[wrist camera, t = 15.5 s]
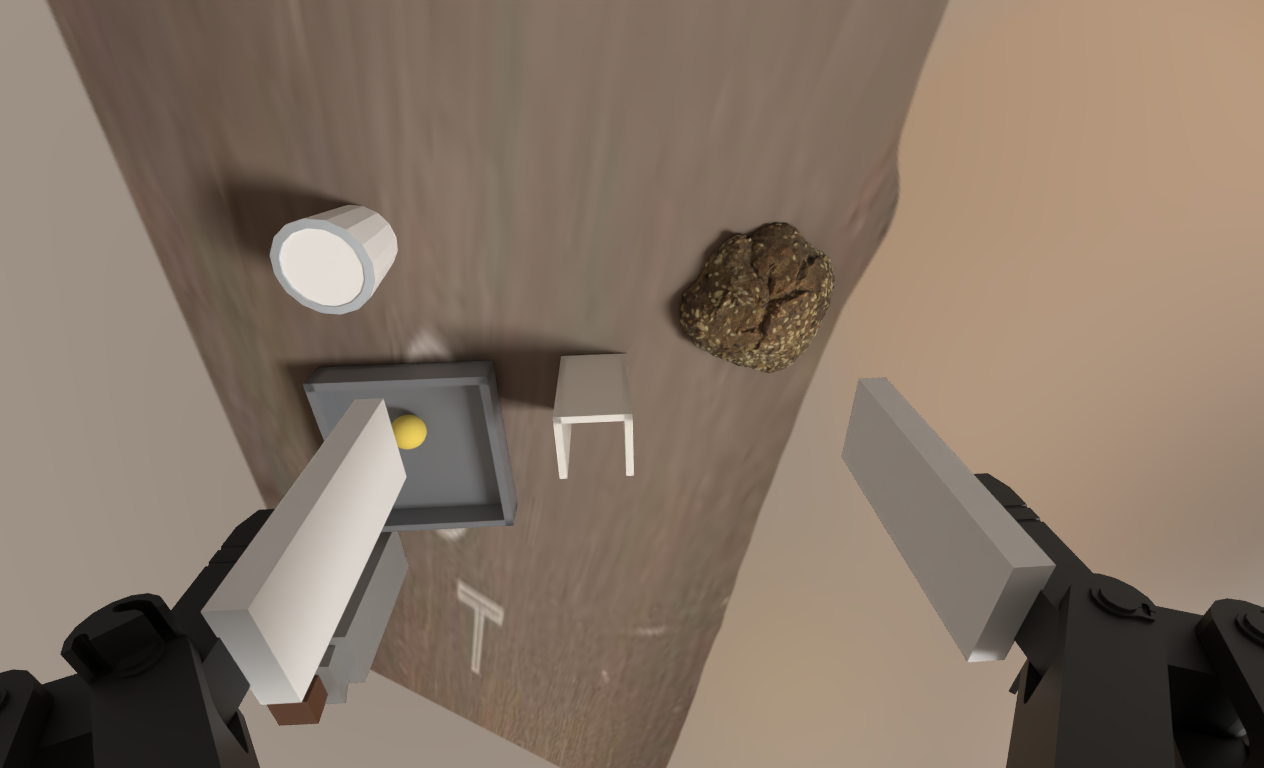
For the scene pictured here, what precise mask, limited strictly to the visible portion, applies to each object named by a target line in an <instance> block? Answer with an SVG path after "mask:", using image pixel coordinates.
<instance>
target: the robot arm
mask: <svg viewBox="0 0 1264 768" xmlns="http://www.w3.org/2000/svg"><path fill="white" fill-rule="evenodd" d="M842 458H843V460H844V462H845V463H846V465H847V467H848V468H849V470H850V472H851V473H852V475H853V476H854V478H855V480H856V481H857V483H858V485H859V486H860V488H861V490H862V491H863V493H864V494H865V496H866V498H867V499H868V501H869V502H870V504H871V506H872V507H873V509H874V510H875V512H876V514H877V516H878V517H879V519H880V521H881V522H882V524H883V525H884V527H885V529H886V530H887V532H888V534H889V535H890V537H891V538H892V540H893V542H894V543H895V545H896V547H897V548H898V550H899V551H900V553H901V555H902V556H903V558H904V560H905V561H906V563H907V565H908V566H909V568H910V570H911V571H912V573H913V574H914V576H915V578H916V579H917V581H918V583H919V584H920V586H921V587H922V589H923V591H924V592H925V594H926V596H927V597H928V599H929V600H930V602H931V604H932V605H933V607H934V609H935V610H936V612H937V614H938V615H939V617H940V618H941V620H942V622H943V623H944V625H945V627H946V628H947V630H948V632H949V633H950V635H951V636H952V638H953V640H954V641H955V643H956V645H957V646H958V648H959V649H960V651H961V652H962V654H963V656H964V658H965V659H966V661H967V662H977V661H994V660H1004V659H1005V658H1006V656H1007V654H1008V652H1009V651H1010V649H1011V647H1012V645H1013V643H1014V641H1016V643H1017V644H1018V645H1019V647H1020V648H1021V650H1022V651H1023V652H1024V654H1025V655H1026V656H1027V660H1026V662H1025V663H1024V665H1023V667H1022V669H1021V670H1020V672H1019V674H1018V675H1017V677H1016V679H1015V681H1014V682H1013V684H1012V686H1011V688H1010V690H1009V692H1011V693H1013V694H1016V692H1017V691H1018V695H1017V702H1016V708H1015V714H1014V721H1013V727H1012V733H1011V740H1010V746H1009V752H1008V759H1007V765H1006V768H1264V607H1260V606H1258V605H1254V604H1252V603H1249V602H1246V601H1241V600H1234V599H1228V598H1227V599H1222V600H1217V601H1215V602H1214V603H1213V604H1212V606H1211V607H1210V608H1209V609H1208V611H1207V612H1206V613H1205V614H1204V616H1203V615H1198V614H1193V613H1188V612H1183V611H1178V610H1173V609H1168V608H1163V607H1158V606H1155V605H1154V604H1153V602H1152V601H1151V600H1150V599H1149V598H1148V597H1147V596H1145V595H1144V594H1142V593H1141V592H1140V591H1138V590H1137V589H1136V588H1134V587H1133V586H1131V585H1128V584H1126V583H1124V582H1122V581H1120V580H1118V579H1116V578H1113V577H1109V576H1106V575H1102V574H1094V573H1092V572H1091V571H1090V569H1088V568H1087V566H1086V565H1085V564H1084V563H1083V562H1082V561H1081V560H1080V559H1079V558H1078V557H1077V556H1076V555H1075V554H1074V553H1073V552H1072V551H1071V550H1070V549H1069V548H1068V547H1067V546H1066V545H1065V544H1064V543H1063V542H1062V541H1061V540H1060V539H1059V537H1057V535H1056V534H1054V532H1053V531H1052V530H1051V529H1050V528H1049V527H1048V526H1047V525H1046V524H1045V523H1044V522H1041V521H1040V518H1039V517H1038V516H1037V515H1036V514H1035V513H1034V512H1033V510H1032V509H1031V508H1027V505H1026V503H1025V502H1024V501H1023V500H1022V499H1021V498H1020V497H1019V496H1018V495H1017V494H1016V493H1015V492H1014V491H1013V490H1012V489H1011V488H1010V487H1009V486H1007V485H1005V484H1004V483H1002V482H1001V481H999V480H997V479H996V478H994V477H993V476H991V475H990V474H988V473H986V474H985V473H984V474H973V473H972V472H971V471H970V470H969V469H968V468H967V467H966V465H965V464H964V463H963V462H962V461H961V460H960V459H959V458H958V457H957V456H956V454H955V453H954V452H953V451H952V450H951V449H950V448H949V447H948V446H947V444H946V443H945V442H944V441H943V440H942V439H941V438H940V437H939V436H938V435H937V433H936V432H935V431H934V430H933V429H932V428H931V427H930V426H929V425H928V424H927V423H926V421H925V420H924V419H923V418H922V417H921V416H920V415H919V414H918V413H917V411H916V410H915V409H914V408H913V407H912V406H911V405H910V404H909V403H908V401H907V400H906V399H905V398H904V397H903V396H902V395H901V394H900V393H899V392H898V390H896V388H895V387H894V386H893V385H892V384H891V383H890V382H889V381H888V379H887V378H863V379H859V380H858V385H857V390H856V393H855V398H854V402H853V407H852V411H851V416H850V420H849V425H848V430H847V434H846V438H845V442H844V447H843V451H842ZM405 479H406V473H405V470H404V466H403V463H402V460H401V456H400V453H399V450H398V446H397V443H396V439H395V436H394V433H393V429H392V426H391V422H390V419H389V416H388V412H387V409H386V406H385V402H384V399H383V398H380V399H356V400H354V401H353V403H352V404H351V405H350V407H349V408H348V410H347V411H346V412H345V414H344V415H343V416H342V418H341V419H340V421H339V422H338V423H337V425H336V426H335V427H334V429H333V430H332V432H331V433H330V434H329V436H328V437H327V438H326V440H325V441H324V443H323V444H322V445H321V447H320V448H319V449H318V451H317V452H316V454H315V455H314V456H313V458H312V459H311V460H310V462H309V463H308V465H307V466H306V467H305V469H304V470H303V471H302V473H301V474H300V476H299V477H298V478H297V480H296V481H295V482H294V484H293V485H292V487H291V488H290V489H289V491H288V492H287V493H286V495H285V496H284V498H283V499H282V500H281V502H280V503H279V505H278V506H277V507H276V509H266V510H258V511H257V512H256V513H254V514H253V515H251V516H250V517H249V518H247V520H245V521H244V522H242V523H241V524H240V525H238V526H237V527H236V528H235V529H234V531H233V532H232V533H231V535H230V536H229V537H228V538H227V540H226V541H225V542H224V543H223V545H222V546H221V550H218V551H217V552H216V554H215V555H214V556H213V557H212V559H211V560H210V561H209V565H208V566H206V567H205V568H204V569H203V570H202V572H201V573H200V574H199V575H198V577H197V578H196V579H195V581H194V582H193V583H192V584H191V586H190V587H189V588H188V590H187V591H186V592H185V593H184V595H183V596H182V597H181V598H180V600H179V601H178V602H177V604H176V605H175V606H174V607H173V609H172V610H170V609H169V607H168V606H167V605H166V603H165V602H164V601H163V599H162V598H161V597H160V596H158V595H153V594H149V593H146V594H139V595H131V596H129V597H126V598H123V599H121V600H117V601H115V602H112V603H110V604H109V605H107V606H105V607H103V608H101V609H100V610H98V611H96V612H94V613H93V614H91V615H90V616H89V617H88V618H86V619H85V620H84V621H83V622H81V623H80V624H79V625H78V626H76V627H75V629H74V630H73V631H72V632H71V634H70V635H69V636H68V638H67V639H66V640H65V641H64V644H63V647H62V651H61V655H62V657H63V658H64V659H65V660H66V661H67V662H68V663H69V664H70V665H71V666H72V668H74V670H75V671H76V672H77V673H78V674H74V675H71V676H68V677H65V678H62V679H59V680H55V681H52V682H48V683H45V684H41V683H40V682H39V681H38V680H36V678H35V677H34V676H33V675H32V674H30V673H29V672H28V671H26V670H10V671H6V672H2V673H0V768H260V766H259V763H258V760H257V757H256V753H255V750H254V747H253V744H252V741H251V738H250V734H249V731H248V728H247V725H246V721H245V718H244V716H243V714H242V713H241V712H240V710H239V709H238V707H239V705H240V703H241V702H242V700H243V698H244V696H245V695H246V693H247V691H248V689H249V687H250V689H251V690H252V692H253V693H254V695H255V696H256V698H257V700H258V701H259V703H260V704H261V705H266V704H283V703H299V702H302V700H303V698H304V696H305V694H306V692H307V690H308V687H309V685H310V683H311V681H312V679H313V677H314V675H315V672H316V670H317V668H318V666H319V664H320V662H321V660H322V657H323V655H324V653H325V651H326V649H327V647H328V644H329V642H330V640H331V638H332V636H333V634H334V632H335V629H336V627H337V625H338V623H339V621H340V619H341V617H342V614H343V612H344V610H345V608H346V606H347V604H348V602H349V599H350V597H351V595H352V593H353V591H354V589H355V587H356V584H357V582H358V580H359V578H360V576H361V574H362V572H363V569H364V567H365V565H366V563H367V561H368V559H369V556H370V554H371V552H372V550H373V548H374V546H375V544H376V541H377V539H378V537H379V535H380V533H381V531H382V529H383V526H384V524H385V522H386V520H387V518H388V516H389V514H390V511H391V509H392V507H393V505H394V503H395V501H396V499H397V496H398V494H399V492H400V490H401V488H402V486H403V484H404V481H405Z"/></svg>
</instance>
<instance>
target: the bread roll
mask: <svg viewBox="0 0 1264 768" xmlns="http://www.w3.org/2000/svg"><path fill="white" fill-rule="evenodd" d="M833 271H834V268H833V266H832V263H831V260H830V258H828V257H827V256H826V255H825V254H824V253H823V252H822V251H818V250H817V249H815V248H813V246H812V245H811V244H810V243H808V242H806V241H805V239H804V237H803V235H802V233H801V232H800V231H798V230H797V229H796V228H795V227H794V226H792V225H791V224H782V223H778V224H771V225H768V226H765V227H763V228H761V229H759V230H757V231H756V232H754V233H753V235H752V236H751V237H749V238H748V237H746V235H736V236H734V237H732V238H730V239H728V240H727V241H726V242H724V243H723V244H722V246H721V247H720V248H719V249H718V251H717V252H715V253H714V254H713V255H711V256H710V257H709V260H708V261H707V262H706V263H705V268H704V270H703V272H702V274H701V276H700V277H699V278H698V279H697V281H696V282H695V283H694V284H693V285H692V286H691V287H689V288H688V289H687V290H686V291H685V292H684V293H683V294H682V296H683V303H682V305H681V306H680V307H679V314H680V316H681V320H680V322H681V323H682V325H683V327H684V329H685V333H686V334H687V335H688V334H689V335H690V336H691V337H692V340H693V341H694V344H695V345H696V346H697V347H699V346H701V348H702V349H703V350H707V351H708V353H710V354H712V355H713V356H715V357H719V358H720V359H723V360H727V361H728V362H732V363H733V364H736V365H738V366H741V367H742V366H744V367H750V368H753V369H757V370H761V372H764V373H766V372H768V373H771V372H775V371H779V370H782V369H784V368H787V367H788V366H790V365H792V364H793V362H794V361H796V360H797V358H799V357H800V355H802V353H803V352H805V351H806V349H807V348H808V346H809V345H810V342H811V340H812V338H814V337H815V335H816V333H817V330H818V328H820V325H821V323H822V319H823V317H824V315H825V312H826V310H827V309H828V306H829V304H830V300H831V297H832V289H833V288H834V285H833V284H834V281H835V276H834V275H833V274H832V272H833Z"/></svg>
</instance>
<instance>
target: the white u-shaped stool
mask: <svg viewBox="0 0 1264 768" xmlns="http://www.w3.org/2000/svg"><path fill="white" fill-rule="evenodd" d="M610 421H623V430H624V445H625V461H626V476H632V475H634V462H633V419H632V404H631V394H630V383H629V372H628V361H627V353H623V354H598V355H574V356H561V360H560V368H559V375H558V383H557V390H556V398H555V405H554V413H553V423H554V432H555V441H556V450H557V459H558V468H559V476H560V479H567V475H568V462H569V450H570V437H571V424H572V423H588V422H610Z"/></svg>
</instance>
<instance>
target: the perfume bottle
mask: <svg viewBox="0 0 1264 768" xmlns="http://www.w3.org/2000/svg"><path fill="white" fill-rule="evenodd" d="M408 568H409V567H408V563H407V560H406V557H405V553H404V550H403V547H402V544H401V540H400V537H399V534H398V531H395V532H381V533H380V535H379V537H378V539H377V541H376V544H375V546H374V548H373V550H372V552H371V554H370V556H369V559H368V561H367V563H366V565H365V567H364V569H363V572H362V574H361V576H360V578H359V580H358V582H357V584H356V587H355V589H354V591H353V593H352V595H351V597H350V599H349V602H348V604H347V606H346V608H345V610H344V612H343V614H342V617H341V619H340V621H339V623H338V625H337V627H336V629H335V632H334V634H333V636H332V638H331V640H330V642H329V644H328V647H327V649H326V651H325V653H324V655H323V657H322V660H321V662H320V664H319V666H318V668H317V670H316V672H315V675H314V677H313V679H312V681H311V683H310V685H309V687H308V690H307V692H306V694H305V696H304V698H303V700H302V702H299V703H283V704H266V705H267V706H268V708H269V710H270V711H271V713H272V714H273V716H274V718H275V719H276V721H277V723H278V724H279V726H280V725H299V724H317V723H319V721H320V717H321V714H322V711H323V709H324V706H325V704H336V703H346V698H347V690H348V683H359V682H360V683H362V682H365V680H366V678H367V675H368V673H369V670H370V668H371V665H372V662H373V660H374V657H375V654H376V652H377V649H378V647H379V644H380V641H381V639H382V636H383V633H384V631H385V628H386V625H387V623H388V620H389V618H390V615H391V612H392V610H393V607H394V604H395V602H396V599H397V597H398V594H399V591H400V589H401V586H402V583H403V581H404V578H405V575H406V573H407V570H408Z"/></svg>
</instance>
